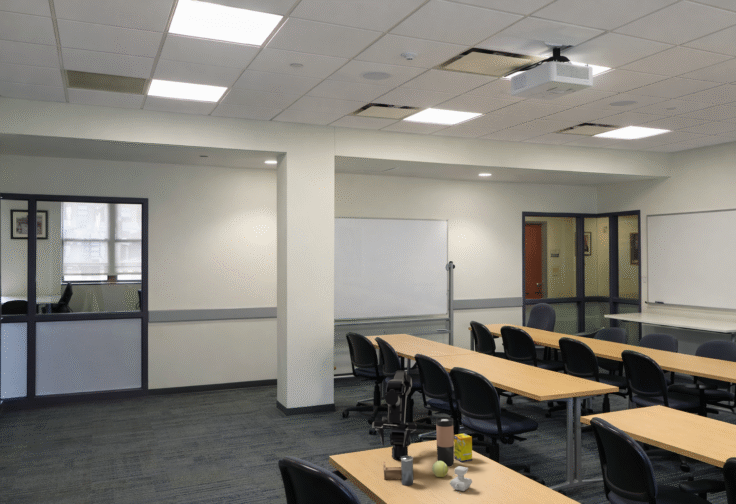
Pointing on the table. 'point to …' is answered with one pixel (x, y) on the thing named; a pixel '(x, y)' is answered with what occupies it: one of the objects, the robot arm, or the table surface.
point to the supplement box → (463, 447)
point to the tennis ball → (440, 469)
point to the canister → (407, 470)
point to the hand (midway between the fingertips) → (393, 446)
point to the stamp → (460, 479)
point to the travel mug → (445, 440)
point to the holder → (391, 472)
